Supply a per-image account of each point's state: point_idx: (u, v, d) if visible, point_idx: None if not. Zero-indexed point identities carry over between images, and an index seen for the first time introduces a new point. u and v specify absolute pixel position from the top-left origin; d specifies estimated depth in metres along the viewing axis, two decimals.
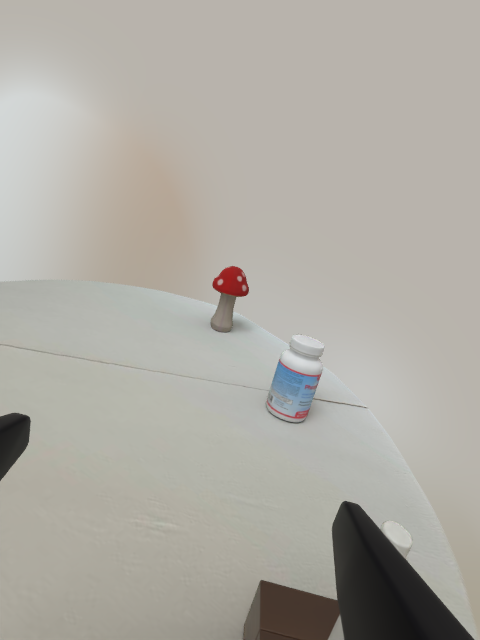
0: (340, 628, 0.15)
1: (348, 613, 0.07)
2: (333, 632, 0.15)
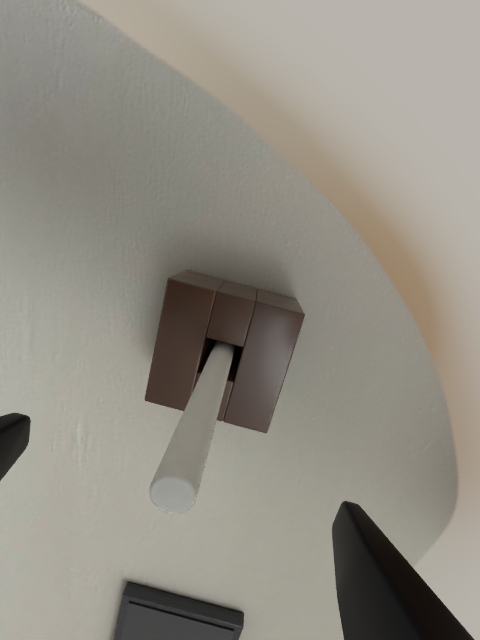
0: None
1: (348, 613, 0.07)
2: None
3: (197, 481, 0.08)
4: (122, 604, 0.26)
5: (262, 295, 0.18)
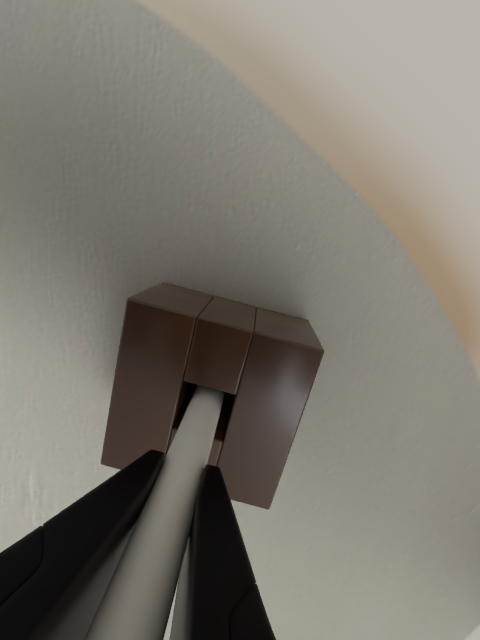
0: None
1: (181, 568, 0.07)
2: None
3: None
4: None
5: (263, 318, 0.13)
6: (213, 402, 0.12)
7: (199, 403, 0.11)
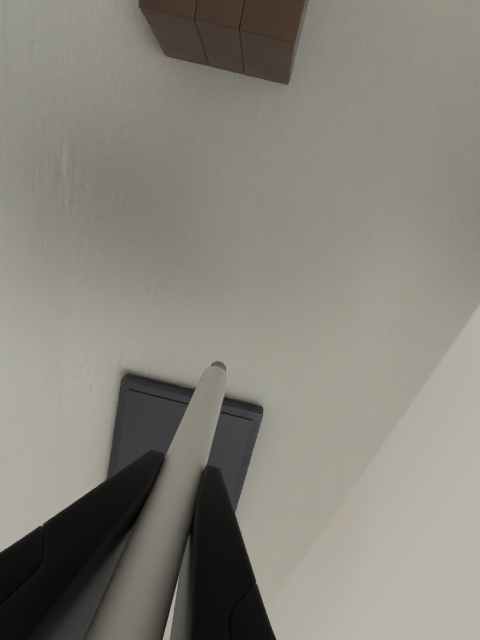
0: None
1: (181, 568, 0.07)
2: None
3: None
4: (121, 394, 0.22)
5: None
6: (213, 402, 0.12)
7: (199, 403, 0.11)
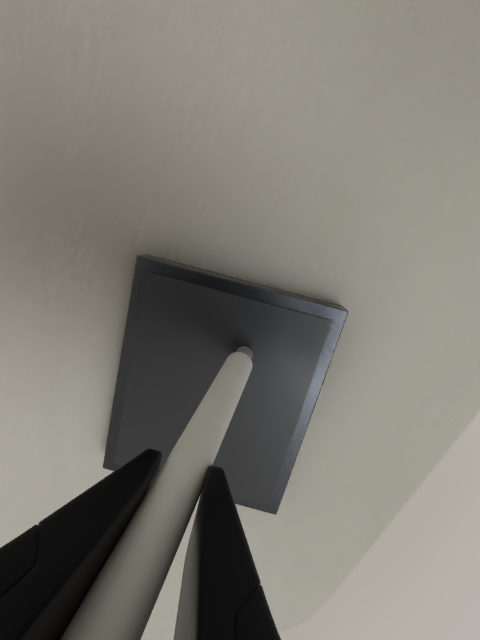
0: None
1: (185, 569, 0.07)
2: None
3: None
4: (135, 279, 0.15)
5: None
6: (230, 393, 0.11)
7: (215, 394, 0.11)
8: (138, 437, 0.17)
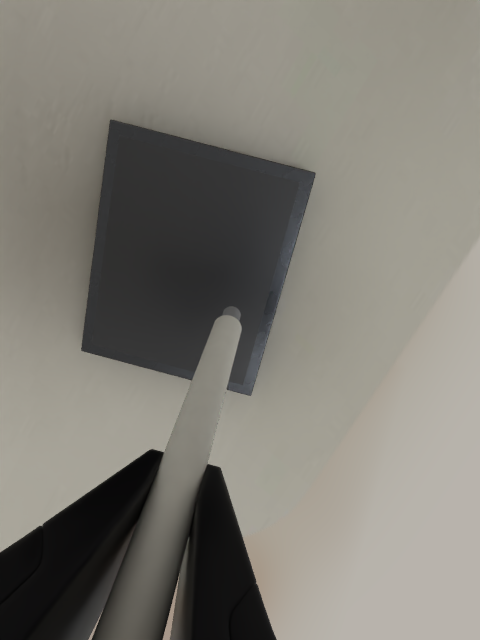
0: None
1: (182, 568, 0.07)
2: None
3: None
4: (109, 144, 0.15)
5: None
6: (223, 367, 0.11)
7: (207, 370, 0.11)
8: (115, 315, 0.17)
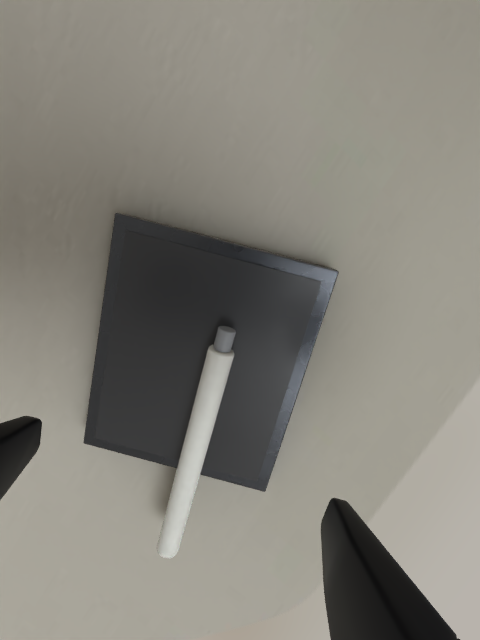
0: None
1: (334, 609, 0.07)
2: None
3: (176, 550, 0.17)
4: (114, 238, 0.14)
5: None
6: (209, 414, 0.15)
7: (197, 419, 0.15)
8: (120, 410, 0.16)
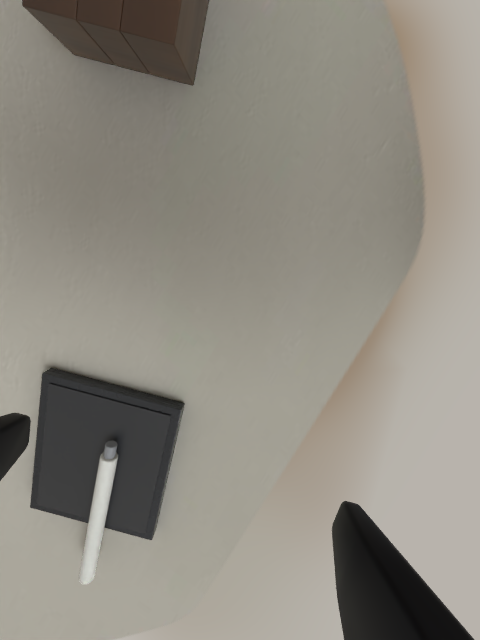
0: None
1: (348, 613, 0.07)
2: None
3: (90, 579, 0.25)
4: (42, 387, 0.22)
5: None
6: (101, 495, 0.23)
7: (94, 497, 0.23)
8: (52, 487, 0.24)
